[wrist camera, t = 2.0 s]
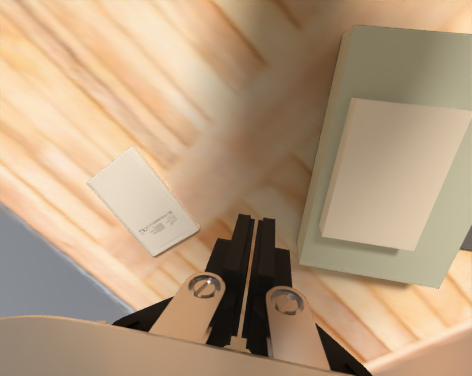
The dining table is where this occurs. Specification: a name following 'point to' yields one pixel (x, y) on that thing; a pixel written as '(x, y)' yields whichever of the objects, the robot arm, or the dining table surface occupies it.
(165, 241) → the external hard drive
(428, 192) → the cream flat block
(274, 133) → the dining table surface
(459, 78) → the sage green block
